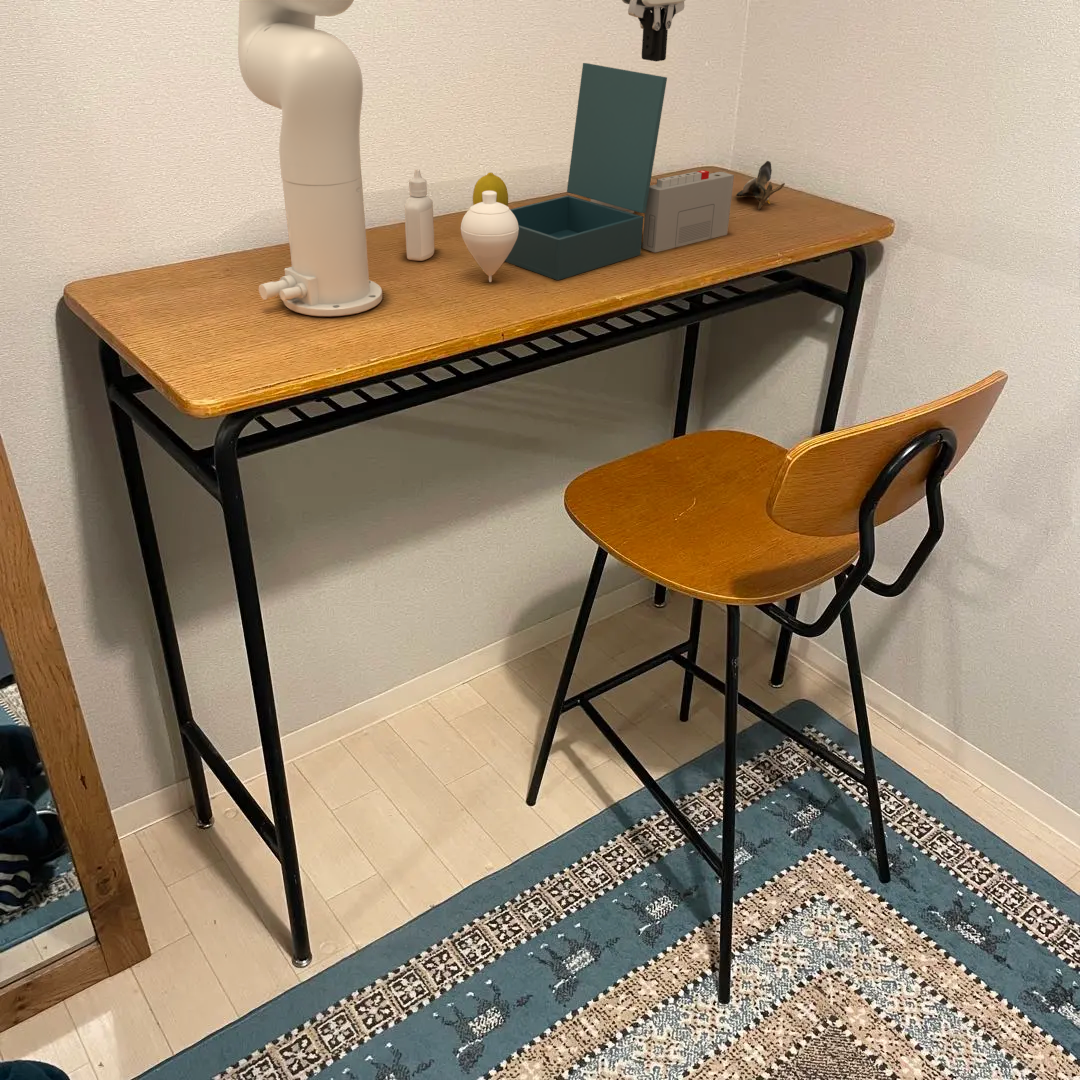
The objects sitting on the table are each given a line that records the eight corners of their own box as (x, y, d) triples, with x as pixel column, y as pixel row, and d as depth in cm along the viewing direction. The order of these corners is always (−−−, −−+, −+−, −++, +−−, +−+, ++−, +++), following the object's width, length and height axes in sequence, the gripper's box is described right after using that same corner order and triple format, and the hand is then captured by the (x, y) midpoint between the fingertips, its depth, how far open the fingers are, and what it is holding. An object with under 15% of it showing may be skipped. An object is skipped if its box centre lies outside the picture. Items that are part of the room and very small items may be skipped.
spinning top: (508, 294, 138) (508, 201, 131) (453, 287, 139) (451, 196, 133) (525, 276, 144) (526, 187, 137) (473, 270, 146) (471, 182, 139)
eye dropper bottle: (445, 255, 151) (443, 169, 144) (415, 263, 148) (411, 176, 141) (426, 248, 154) (423, 163, 147) (396, 256, 150) (391, 170, 144)
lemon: (493, 232, 161) (493, 179, 157) (465, 225, 164) (465, 172, 159) (515, 224, 165) (515, 172, 160) (488, 217, 168) (488, 166, 163)
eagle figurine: (793, 203, 174) (779, 179, 181) (778, 168, 170) (764, 145, 176) (752, 226, 176) (739, 202, 183) (735, 193, 172) (723, 169, 178)
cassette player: (714, 230, 164) (721, 164, 159) (727, 234, 162) (734, 168, 157) (642, 248, 156) (647, 179, 150) (654, 252, 154) (660, 183, 149)
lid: (663, 77, 141) (667, 77, 142) (582, 62, 150) (586, 63, 151) (642, 213, 149) (645, 213, 150) (566, 192, 158) (570, 191, 159)
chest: (557, 280, 143) (559, 239, 140) (484, 254, 152) (483, 215, 149) (640, 254, 153) (643, 216, 150) (567, 231, 162) (568, 194, 159)
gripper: (677, -92, 146) (667, 51, 156) (604, -90, 137) (598, 62, 147) (720, -90, 141) (706, 57, 151) (647, -88, 133) (638, 69, 143)
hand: (653, 59), depth 149 cm, fingers closed
